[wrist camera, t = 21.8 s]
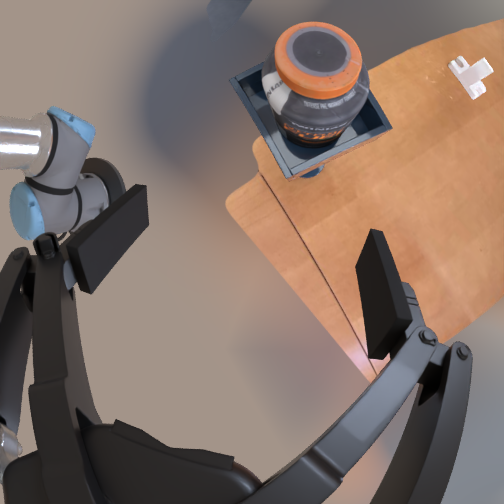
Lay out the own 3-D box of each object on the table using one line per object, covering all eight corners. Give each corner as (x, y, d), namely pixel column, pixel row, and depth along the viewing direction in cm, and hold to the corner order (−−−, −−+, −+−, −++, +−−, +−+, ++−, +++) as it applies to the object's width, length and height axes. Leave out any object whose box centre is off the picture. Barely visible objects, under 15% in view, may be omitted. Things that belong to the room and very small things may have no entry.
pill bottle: (281, 154, 22) (262, 119, 11) (268, 88, 21) (241, 15, 10) (353, 145, 20) (398, 105, 10) (338, 80, 19) (361, 3, 8)
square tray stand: (296, 188, 52) (286, 179, 18) (275, 149, 52) (228, 79, 17) (335, 168, 50) (393, 128, 16) (313, 130, 49) (330, 34, 15)
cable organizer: (472, 100, 40) (495, 89, 31) (446, 64, 40) (465, 48, 30) (482, 92, 39) (505, 81, 29) (457, 57, 38) (476, 42, 29)
